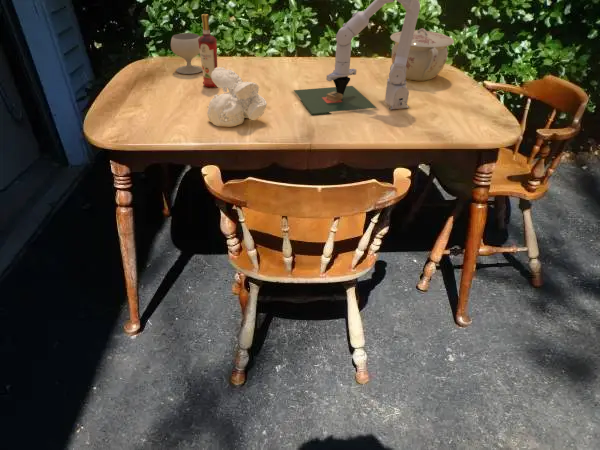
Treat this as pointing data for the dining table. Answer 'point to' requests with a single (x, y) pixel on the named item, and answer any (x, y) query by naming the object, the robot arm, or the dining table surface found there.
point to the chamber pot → (424, 54)
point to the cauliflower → (234, 100)
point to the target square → (329, 100)
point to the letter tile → (334, 96)
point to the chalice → (186, 51)
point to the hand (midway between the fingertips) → (340, 95)
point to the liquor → (207, 52)
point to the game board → (318, 106)
